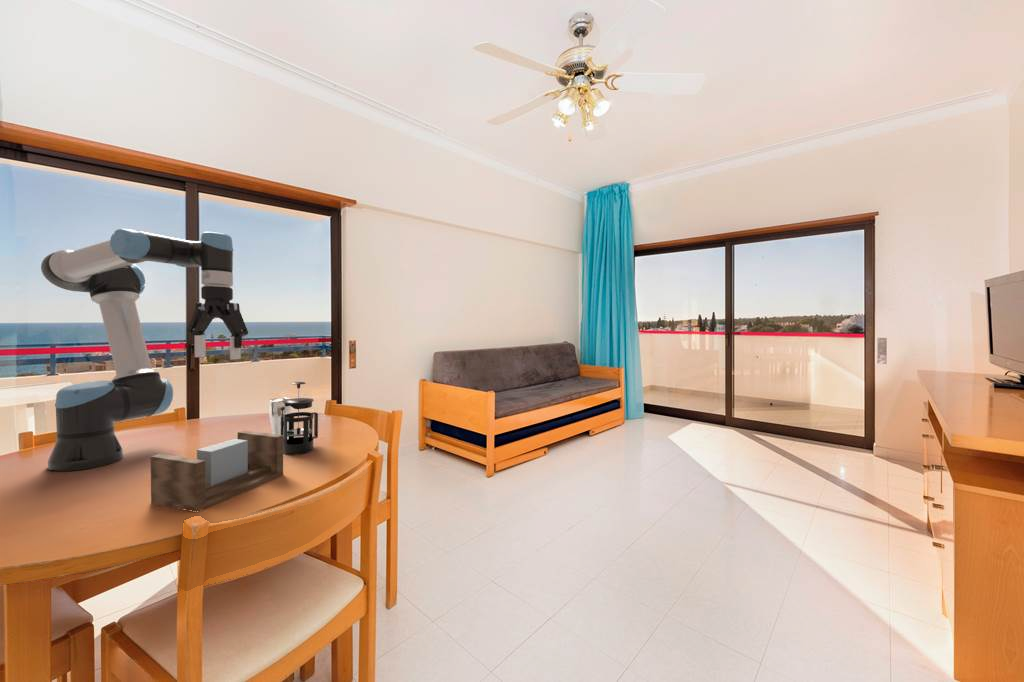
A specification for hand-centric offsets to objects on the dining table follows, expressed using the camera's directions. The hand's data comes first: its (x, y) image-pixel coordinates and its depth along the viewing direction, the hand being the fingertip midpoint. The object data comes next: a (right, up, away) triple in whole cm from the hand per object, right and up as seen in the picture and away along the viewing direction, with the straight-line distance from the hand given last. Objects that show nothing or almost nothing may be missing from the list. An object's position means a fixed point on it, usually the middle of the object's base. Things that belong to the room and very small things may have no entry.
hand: (217, 358), depth 120 cm
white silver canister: (+4, -31, +25) cm, 40 cm away
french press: (+16, -32, +15) cm, 39 cm away
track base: (+13, -33, -16) cm, 39 cm away
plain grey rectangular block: (+13, -32, -16) cm, 38 cm away
